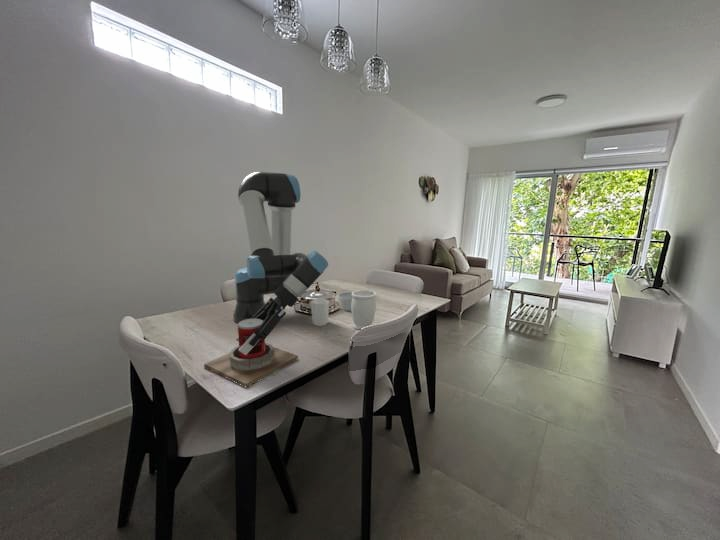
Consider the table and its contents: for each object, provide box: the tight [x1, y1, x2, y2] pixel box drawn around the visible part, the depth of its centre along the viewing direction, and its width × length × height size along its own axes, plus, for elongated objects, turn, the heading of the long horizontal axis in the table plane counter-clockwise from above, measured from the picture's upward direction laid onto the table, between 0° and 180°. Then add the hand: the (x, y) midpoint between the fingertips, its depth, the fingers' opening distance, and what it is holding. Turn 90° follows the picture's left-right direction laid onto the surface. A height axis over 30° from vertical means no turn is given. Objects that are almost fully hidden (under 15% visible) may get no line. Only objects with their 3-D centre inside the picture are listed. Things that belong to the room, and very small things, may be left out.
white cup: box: [310, 298, 330, 327], centre depth 128 cm, size 8×8×10 cm
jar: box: [350, 290, 377, 331], centre depth 125 cm, size 11×10×15 cm
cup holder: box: [203, 342, 299, 388], centre depth 93 cm, size 20×20×4 cm
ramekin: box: [337, 291, 353, 312], centre depth 151 cm, size 13×13×7 cm
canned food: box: [237, 319, 266, 359], centre depth 92 cm, size 8×8×11 cm
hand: (240, 346), depth 91 cm, fingers closed on canned food, 8 cm apart
